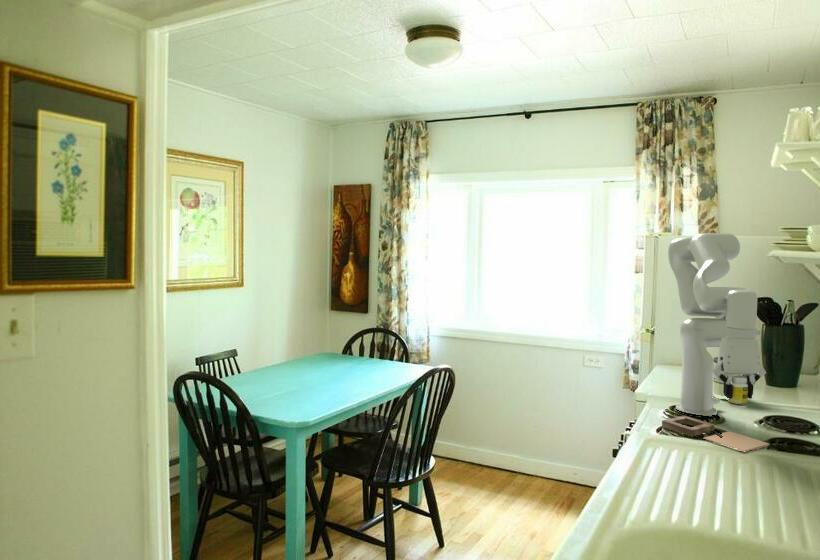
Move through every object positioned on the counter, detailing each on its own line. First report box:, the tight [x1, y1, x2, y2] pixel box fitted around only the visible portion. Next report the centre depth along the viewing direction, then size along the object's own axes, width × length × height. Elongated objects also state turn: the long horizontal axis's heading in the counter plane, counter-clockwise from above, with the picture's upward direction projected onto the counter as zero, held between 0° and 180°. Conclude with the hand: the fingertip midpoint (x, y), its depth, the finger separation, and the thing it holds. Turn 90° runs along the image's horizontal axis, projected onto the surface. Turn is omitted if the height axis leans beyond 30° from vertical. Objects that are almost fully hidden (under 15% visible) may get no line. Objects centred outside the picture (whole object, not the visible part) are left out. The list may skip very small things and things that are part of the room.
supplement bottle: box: [727, 375, 748, 409], centre depth 170 cm, size 5×5×8 cm
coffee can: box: [712, 356, 745, 396], centre depth 218 cm, size 10×10×14 cm
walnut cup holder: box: [661, 415, 716, 438], centre depth 182 cm, size 10×10×2 cm
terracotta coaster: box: [702, 431, 770, 452], centre depth 171 cm, size 12×12×1 cm
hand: (737, 396), depth 170 cm, fingers closed on supplement bottle, 4 cm apart
